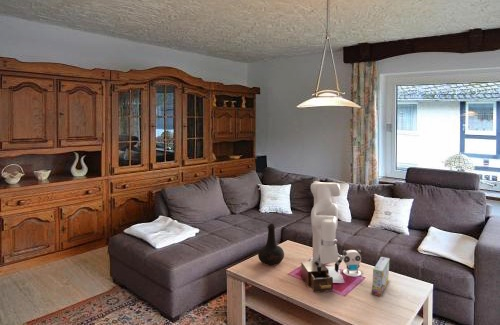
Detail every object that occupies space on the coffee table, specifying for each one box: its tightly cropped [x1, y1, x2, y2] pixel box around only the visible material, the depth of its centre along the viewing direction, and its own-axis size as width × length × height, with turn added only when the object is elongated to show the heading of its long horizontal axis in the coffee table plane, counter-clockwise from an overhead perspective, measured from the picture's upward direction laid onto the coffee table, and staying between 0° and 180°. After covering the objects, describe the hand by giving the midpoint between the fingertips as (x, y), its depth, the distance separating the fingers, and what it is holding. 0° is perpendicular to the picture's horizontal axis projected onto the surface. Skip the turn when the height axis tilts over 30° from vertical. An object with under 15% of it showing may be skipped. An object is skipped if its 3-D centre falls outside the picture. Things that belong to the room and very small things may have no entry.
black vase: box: [257, 223, 285, 267], centre depth 241 cm, size 18×18×28 cm
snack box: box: [371, 256, 391, 297], centre depth 205 cm, size 21×6×15 cm, turn 148°
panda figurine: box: [341, 249, 363, 278], centre depth 225 cm, size 12×11×15 cm
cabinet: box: [300, 260, 330, 288], centre depth 216 cm, size 15×13×10 cm
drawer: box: [310, 272, 334, 293], centre depth 205 cm, size 18×11×8 cm, turn 8°
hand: (328, 272), depth 192 cm, fingers open, 9 cm apart
